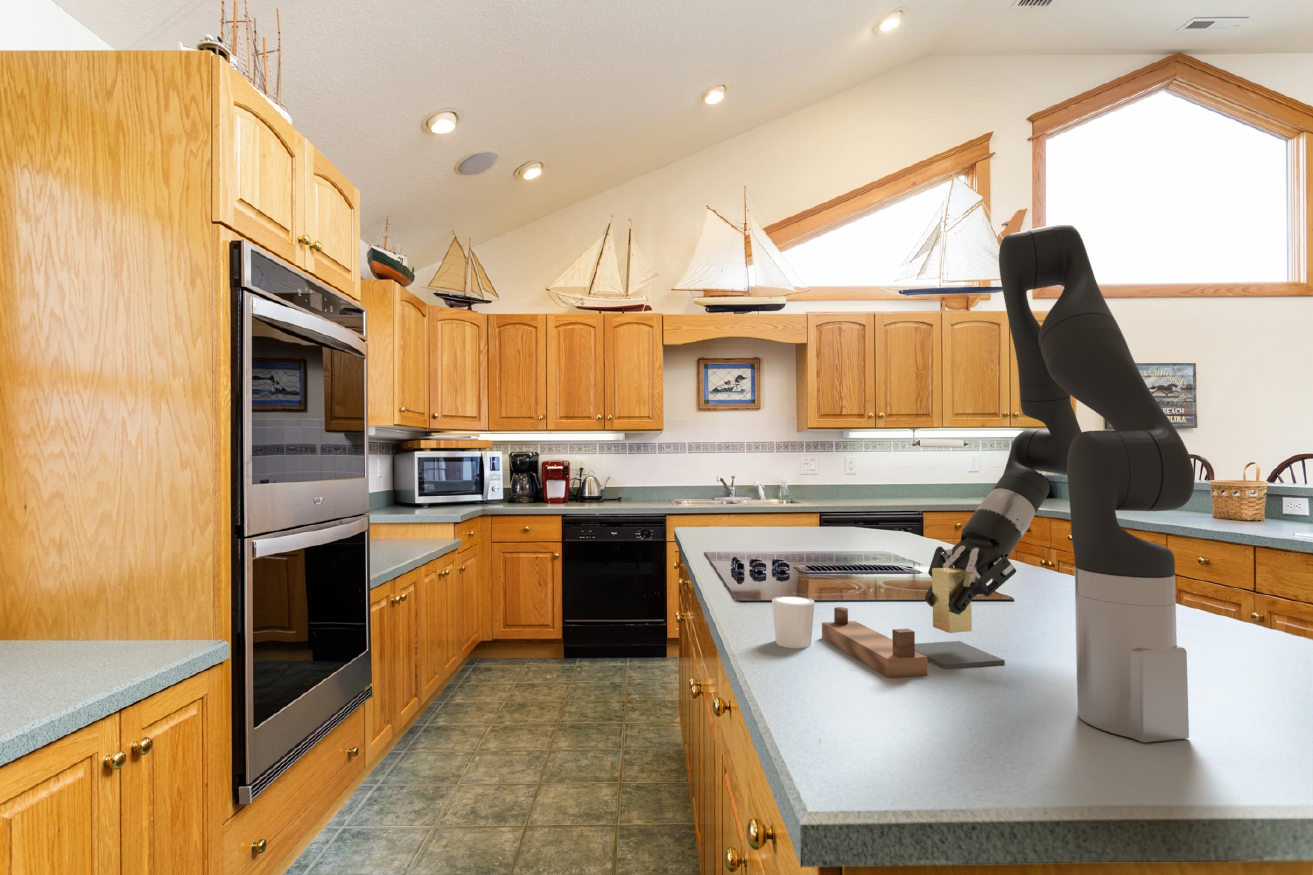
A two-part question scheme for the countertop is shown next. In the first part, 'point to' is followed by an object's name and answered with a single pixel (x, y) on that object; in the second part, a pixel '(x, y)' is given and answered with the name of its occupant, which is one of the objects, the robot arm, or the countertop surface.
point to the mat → (956, 655)
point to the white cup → (793, 621)
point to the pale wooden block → (943, 592)
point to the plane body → (876, 646)
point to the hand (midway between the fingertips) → (941, 606)
